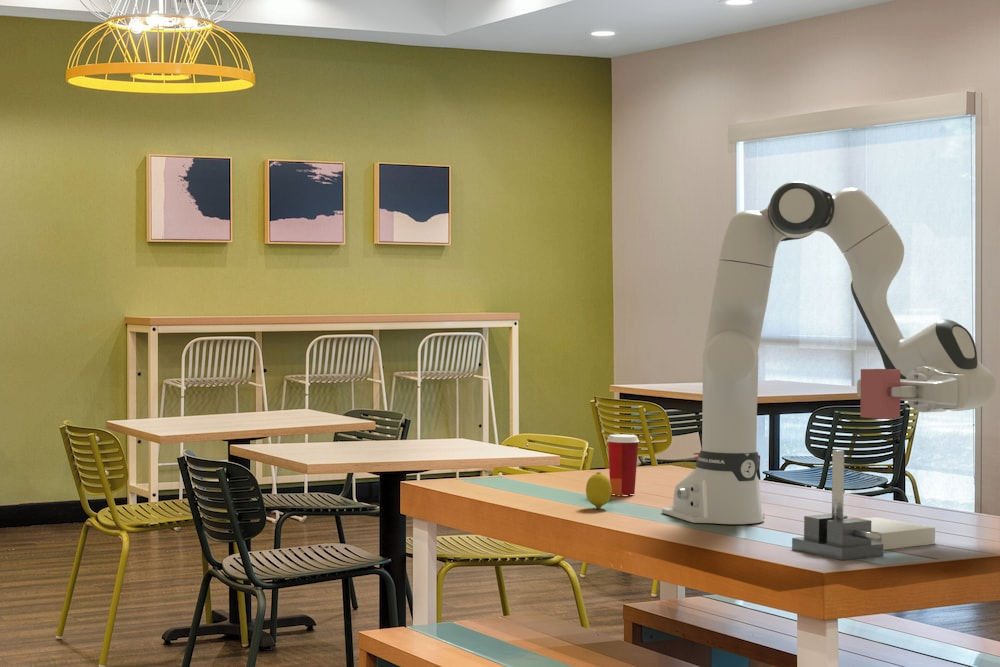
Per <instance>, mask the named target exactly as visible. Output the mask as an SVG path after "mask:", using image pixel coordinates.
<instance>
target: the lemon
mask: <svg viewBox="0 0 1000 667" xmlns="http://www.w3.org/2000/svg"><path fill="white" fill-rule="evenodd" d="M585 495H586V498H587V500H588V502H589V503H590V504H591V505H593V506H595V508H596V509H598V510H599V509H601V508H602V507H603V506H604V505H606V504H607V503H609V501H610V500H611V498H612V497H611V496H612V495H611V484H610V478H608V476H607V475H605V474H603V473H601V471H598V472H596V473H594V474H592V475H591V476H590V477H589V478H588V480H587V482H586V487H585Z"/></svg>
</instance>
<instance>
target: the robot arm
mask: <svg viewBox="0 0 1000 667" xmlns="http://www.w3.org/2000/svg"><path fill="white" fill-rule="evenodd" d="M816 232H820V233H824V234H826V236H828V237H830V238H831V239H832V241H833V242H834V244H836V246H837V247H838V249H839V250H840V252H841V254H842V255H843V257H844V258H845V261H846V262H847V264H848V266H849V269H850V273H851V284H850V291H851V294H852V296H853V299H854V302H855V305H856V307H857V308H858V310H859V312H860V314H861V318H862V319H863V322H864V323H865V326H866V327H867V329H868V331H869V333H870V335H871V338H872V339H873V341H874V343H875V346H876V347H877V350H878V352H879V354H880V356H881V360H882V364H883V366H884V369H896V370H900V387H888V389H887V391H888V393H887V394H888V396H892V397H900V401H906V402H907V403H908V405H909V406H910V407H911V408H912V409H913V410H914V411H916V412H919V413H942V412H946V411H952V412H961V411H962V412H963V411H970V410H976V409H978V408H981V407H983V406H986V405H987V404H988V403H989V402H990V401H991V400H992V399H993V396H994V394H995V391H996V387H997V386H996V384H997V383H996V382H997V381H996V379H995V376H994V374H993V373H992V371H990V370H989V369H988V368H987V367H985V366H984V365H983V364H982V362H980V360H979V359H978V352H977V347H976V343H975V340H974V338H973V336H972V335H971V334H972V333H970V331H969V330H968V329H967V328H965V326H963V325H962V324H960V323H958V322H957V321H954V320H952V319H947V318H946V319H945V318H943V319H942V318H941V319H939V320H938V321H936V322H934V323H932V324H931V325H929V326H927V327H925V328H924V329H922V330H920V331H919V332H918V333H915V334H914V335H912V336H910V337H909V338H906V337H905V336H904V335H903V334H902V331H901V330H900V327H899V326H898V323H897V322H896V320H895V317H894V315H893V313H892V311H891V310H890V307H889V304H888V300H887V294H888V291H889V288H890V286H891V284H892V281H893V280H894V279H895V277H896V276H897V274H898V272H899V271H900V269H901V267H902V264H903V263H904V262H903V261H904V257H905V246H904V243H903V240H902V238H901V236H900V235H899V233H898V231H897V230H896V228H895V226H893V224H892V223H891V221H890V220H889V218H888V217H887V216H886V215H885V213H884V212H883V211H882V210H881V208H880V207H879V206H878V205H877V204H876V203H875V202H874V201H873V199H872V198H870V197H869V195H867V194H866V193H865V192H864V191H863V190H862V189H859V188H857V187H846V188H844V189H843V188H842V189H840V190H838V191H836V192H835V193H833V194H832V193H831V192H829V191H826V190H824V189H822V188H820V187H818V186H815V185H814V184H812V183H809V182H806V181H801V180H794V181H789V182H786V183H784V184H782V185H781V186H778V188H777V189H776V190H775V191H774V192H773V194H772V196H771V198H770V202H769V203H768V206H767V207H765V208H764V209H762V210H753V209H751V210H749V209H748V210H742V211H739V212H737V213H735V214H734V215H733V216H731V219H730V220H729V223H728V225H727V227H726V231H725V234H724V237H723V241H722V245H721V249H720V254H719V258H718V263H717V270H716V276H715V282H714V287H713V293H712V301H711V308H710V312H709V319H708V325H707V332H706V338H705V343H704V349H703V353H702V416H701V418H702V425H701V426H702V428H701V429H702V431H701V432H702V433H701V436H702V437H701V449H700V451H699V452H694V453H693V455H695V456H693V457H692V459H696V464H695V468H694V469H693V470H692V471H691V472H690V473H688V475H686V476H685V477H684V478H683V479H681V481H680V482H678V483H677V484H676V485H675V487H674V491H673V492H674V493H673V501H672V502H673V504H672V505H671V506H665V507H663V508H662V509H661V513H662V514H665V515H668V516H671V517H674V518H677V519H680V520H684V521H687V522H690V523H693V524H720V525H748V524H759V523H763V522H764V518H765V517H766V516H765V512H764V511H763V508H762V498H761V496H762V495H761V488H760V487H761V486H760V478H759V479H758V477H757V469H758V468H759V458H758V455H759V452H758V451H757V430H758V428H757V427H758V426H757V424H758V419H757V418H758V392H759V391H758V390H759V388H758V387H759V384H758V383H759V348H760V343H761V342H760V341H761V338H762V330H763V325H764V321H765V315H766V312H767V305H768V300H769V295H770V294H769V293H770V288H771V283H772V276H773V270H774V264H775V257H776V254H777V253H776V252H777V250H778V246H779V245H780V243H781V242H787V241H794V240H801V239H804V238H807V237H809V236H810V235H813V234H814V233H816ZM856 395H857V397H859V398H861V378H859V379H858V380H857V383H856ZM696 455H697V456H696Z"/></svg>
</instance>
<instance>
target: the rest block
mask: <svg viewBox="0 0 1000 667" xmlns="http://www.w3.org/2000/svg"><path fill="white" fill-rule="evenodd" d="M861 519H865V520H871V533H875V534H880V535H881V536H882V539H881V541H874V540H871V542H876V543H881V544H883V551H884V550H894V549H900V548H901V549H902V548H909V547H918V546H925V545H927V546H928V545H935V544H936V527H935V526H929V525H925V524H924V525H922V524H918V523H911V522H906V521H901V520H896V519H895V520H894V519H890V518H884V517H879V516H876V517H875V516H874V517H864V518H861Z"/></svg>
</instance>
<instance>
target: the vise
mask: <svg viewBox="0 0 1000 667" xmlns="http://www.w3.org/2000/svg"><path fill="white" fill-rule="evenodd" d="M831 458H832V459H831V460H832V464H831V467H832V468H831V471H832V474H831V513H825V514H822V513H821V514H815V515H812V514H811V515H804V516H803V520H804V521H803V536H800V537H799V536H798V537H792V538H791V540H792V541H791V549H792V550H794V551H800V552H803V553H808V554H813V555H817V556H822V557H825V558H830V559H835V560H838V559H840V560H839V561H847V560H846V559H849V560H855V559H854V558H858V559H863V558H862V557H866V558H873V556H874V557H881V556H884V550H883V544H881V543H876V542H871V540H874V541H881V539H882V536H881V535H880V534H875V533H871V520H865V519H862V518H859V517H848V515H844V509H845V508H844V506H845V505H844V504H845V503H844V502H845V500H844V499H845V498H844V497H845V493H844V492H845V490H844V487H845V450H841V449H833V450H832V457H831Z"/></svg>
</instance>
